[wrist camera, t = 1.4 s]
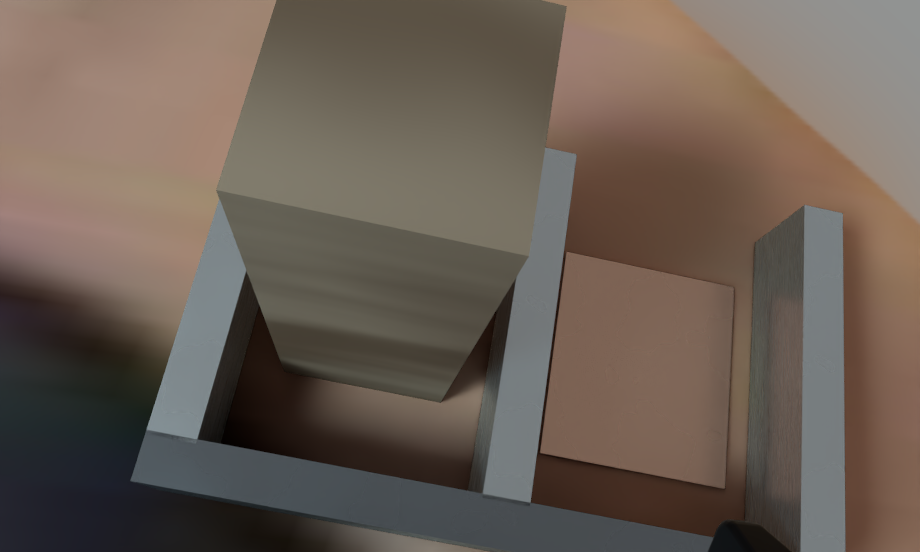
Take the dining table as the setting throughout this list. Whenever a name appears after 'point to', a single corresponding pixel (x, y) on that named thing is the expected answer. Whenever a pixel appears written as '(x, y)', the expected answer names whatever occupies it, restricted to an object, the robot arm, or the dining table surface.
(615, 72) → the dining table surface
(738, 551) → the robot arm
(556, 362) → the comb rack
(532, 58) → the grey-brown peg
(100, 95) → the dining table surface
